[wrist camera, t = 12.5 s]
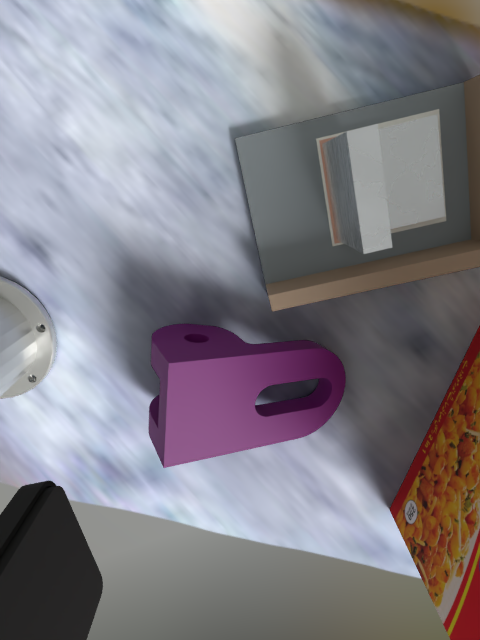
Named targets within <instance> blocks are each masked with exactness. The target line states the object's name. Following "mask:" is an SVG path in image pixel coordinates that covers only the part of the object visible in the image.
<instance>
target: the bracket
mask: <svg viewBox="0 0 480 640" xmlns="http://www.w3.org/2000/svg"><path fill="white" fill-rule="evenodd" d="M322 149H323V155H324V162H325V168H326V174H327V180H328V187H329V193H330V199H331V205H332V212H333V218H334V224H335V230H336V236H337V240H338V241H340V242H342V243H344V244H346V245H348V246H349V247H351V248H353V249H355V250H357V251H359V252H361V253H363V254H367V253H371V252H375V251H379V250H384V249H388V248H392V239H391V231H390V229H394V228H398V227H402V226H407V225H411V224H415V223H419V222H424V221H428V220H432V219H436V218H441V217H445V207H444V194H443V181H442V168H441V155H440V142H439V129H438V116H437V114H436V115H432V116H428V117H424V118H421V119H417V120H413V121H409V122H405V123H401V124H397V125H393V126H389V127H385V128H381V129H378V124H374V125H370V126H367V127H363V128H359V129H355V130H351V131H347V132H345V133H343V134H341V135H339V136H337V137H335V138H333V139H331V140H329V141H327V142H325V143H323V144H322Z"/></svg>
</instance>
